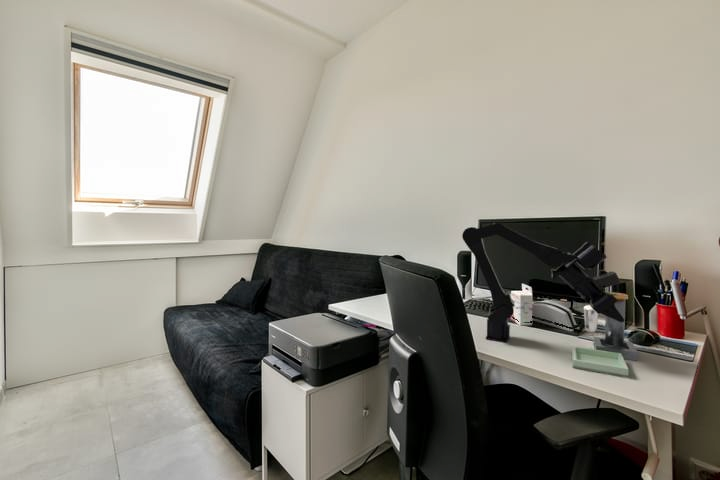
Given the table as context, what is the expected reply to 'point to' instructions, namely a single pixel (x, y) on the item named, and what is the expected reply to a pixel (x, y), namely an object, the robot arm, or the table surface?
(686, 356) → the table surface
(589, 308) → the milkshake
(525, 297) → the ink cartridge box
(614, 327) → the grey and gold cylinder
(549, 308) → the grey arched block
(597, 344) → the frame
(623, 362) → the tray
